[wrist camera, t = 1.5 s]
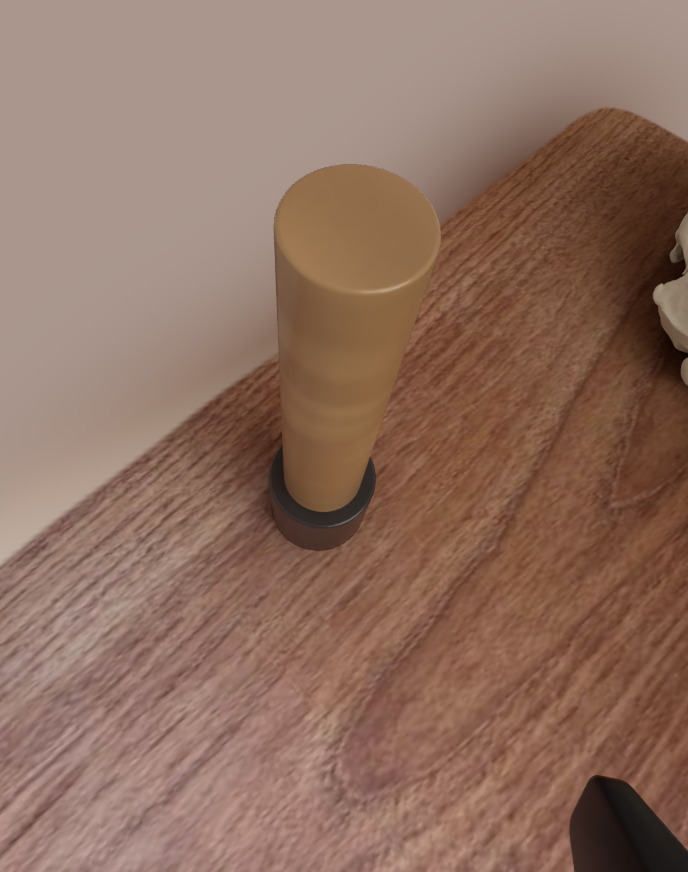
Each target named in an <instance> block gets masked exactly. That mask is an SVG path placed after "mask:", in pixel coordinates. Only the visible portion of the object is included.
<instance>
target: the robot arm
mask: <svg viewBox="0 0 688 872" xmlns="http://www.w3.org/2000/svg"><path fill="white" fill-rule="evenodd" d="M570 842H571V849H572V856H573V864H574V871H575V872H688V851H687V850H686V849H685V848H684V846H683V845H682V844H681V843H680V842H679V841H678V840H677V838H676V837H675V836H674V835H673V834H672V833H671V831H670V830H669V829H668V828H667V827H666V826H665V825H664V823H663V822H662V821H661V820H660V819H659V818H658V817H657V815H656V814H655V813H654V812H653V811H652V810H651V809H650V807H649V806H648V805H647V804H646V803H645V802H644V801H643V799H642V798H641V797H640V796H639V795H638V794H637V793H636V791H635V790H634V789H633V788H632V787H631V786H630V785H629V784H628V783H626V782H625V781H623V780H620V779H615V778H610V777H606V776H601V775H595V776H593V777H591V778H590V779H589V781H588V783H587V785H586V787H585V789H584V791H583V793H582V795H581V797H580V799H579V801H578V803H577V805H576V807H575V809H574V811H573V813H572V816H571V820H570Z"/></svg>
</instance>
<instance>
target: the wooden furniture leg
mask: <svg viewBox="0 0 688 872" xmlns="http://www.w3.org/2000/svg"><path fill="white" fill-rule="evenodd" d="M440 244H441V230H440V225H439V221H438V217H437V215H436V213H435V210H434V208H433V207H432V205H431V203H430V202H429V200H428V199H427V198H426V196H425V195H424V194H423V193H422V192H421V191H420V190H419V189H418V188H417V187H415V186H414V185H413V184H411V183H410V182H409V181H407V180H405V179H404V178H402V177H400V176H398V175H396V174H394V173H392V172H389V171H387V170H384V169H380V168H377V167H373V166H367V165H357V164H343V165H335V166H330V167H325V168H322V169H319V170H316V171H314V172H311V173H309V174H307V175H306V176H304V177H302V178H301V179H299V180H298V181H297V182H296V183H294V184H293V185H292V186H291V187H290V189H289V190H288V191H287V192H286V193H285V195H284V196H283V198H282V199H281V201H280V203H279V205H278V208H277V210H276V213H275V217H274V247H275V272H276V296H277V321H278V345H279V369H280V394H281V418H282V443H283V444H282V445H281V446H280V447H279V449H278V450H277V451H276V453H275V455H274V457H273V459H272V462H271V465H270V470H269V486H270V494H271V503H272V512H273V517H274V520H275V522H276V525H277V527H278V528H279V530H280V531H281V533H282V534H283V535H284V536H285V537H286V538H287V539H288V540H289V541H291V542H292V543H294V544H295V545H297V546H299V547H302V548H305V549H308V550H317V551H321V550H329V549H333V548H335V547H338V546H340V545H342V544H344V543H345V542H346V541H348V540H349V539H350V538H351V537H352V536H353V535H354V534H355V533H356V531H357V530H358V528H359V527H360V524H361V522H362V520H363V517H364V515H365V513H366V510H367V508H368V505H369V503H370V501H371V498H372V496H373V493H374V489H375V483H376V474H375V468H374V464H373V461H372V459H371V457H370V455H371V452H372V449H373V446H374V443H375V440H376V437H377V435H378V432H379V429H380V426H381V423H382V420H383V417H384V414H385V411H386V408H387V405H388V402H389V399H390V396H391V393H392V390H393V387H394V384H395V381H396V378H397V375H398V372H399V369H400V366H401V363H402V360H403V357H404V354H405V351H406V348H407V345H408V342H409V339H410V336H411V334H412V331H413V328H414V325H415V322H416V319H417V316H418V313H419V310H420V307H421V304H422V301H423V298H424V295H425V292H426V289H427V286H428V283H429V280H430V277H431V274H432V271H433V268H434V265H435V262H436V259H437V256H438V253H439V249H440Z"/></svg>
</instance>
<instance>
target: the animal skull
mask: <svg viewBox="0 0 688 872" xmlns="http://www.w3.org/2000/svg"><path fill="white" fill-rule="evenodd" d="M675 238H676V242H677V244H676V246H675V247H674V249H673V250H672V251H671V252H670V260H671V262H673V263H677V262H680V261H681V260H683V259H685V262H686V269H685V271H684V272H683V273H682V274H683V275H684V274H685V275H684V276H683V277H680V278H679V279H678V280H672V281H671V282H667V283H666V284H665V285H664V284H660V285H658V286H657V287H656V288H655V290H654V292H653V300H654V302H655V303H656V304H657V305H658V312H659V315H660V318H661V325H662V327H663V329H664V330H665V331H666V333H667V334H668V335H669V337H670V338H671V340H672V342H673V345H674V347H675V348H676V349H678V350H680V351H682V352H686V353H688V213H687V214H686V216H685V217H684V219H683V220H682V222H681V224H680V226H679V229H677V231H676V233H675ZM681 377H682V379H683V381H684V383H685V384H686V385H688V357H687V358H686V359H685V360H684V361H683V362H682V366H681Z"/></svg>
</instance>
